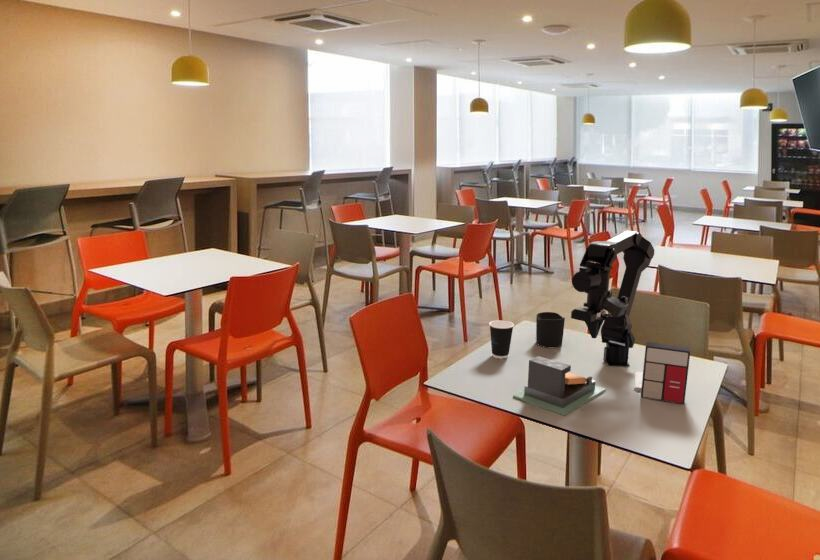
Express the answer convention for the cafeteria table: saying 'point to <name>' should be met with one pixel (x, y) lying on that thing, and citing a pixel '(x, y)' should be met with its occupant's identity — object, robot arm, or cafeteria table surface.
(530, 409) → the cafeteria table surface
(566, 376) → the orange upright panel
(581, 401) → the green flat slab
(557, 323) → the pen holder
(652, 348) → the panelled box
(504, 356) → the dixie cup
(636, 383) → the external hard drive
